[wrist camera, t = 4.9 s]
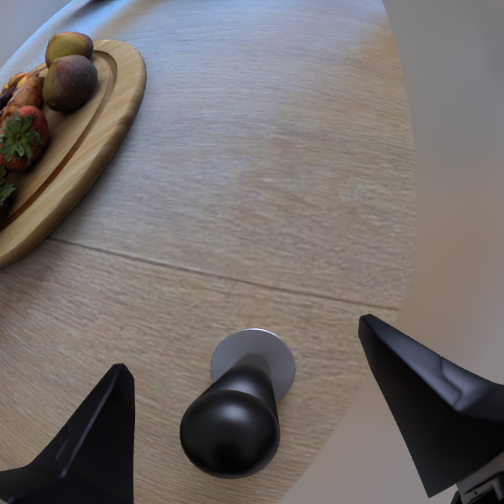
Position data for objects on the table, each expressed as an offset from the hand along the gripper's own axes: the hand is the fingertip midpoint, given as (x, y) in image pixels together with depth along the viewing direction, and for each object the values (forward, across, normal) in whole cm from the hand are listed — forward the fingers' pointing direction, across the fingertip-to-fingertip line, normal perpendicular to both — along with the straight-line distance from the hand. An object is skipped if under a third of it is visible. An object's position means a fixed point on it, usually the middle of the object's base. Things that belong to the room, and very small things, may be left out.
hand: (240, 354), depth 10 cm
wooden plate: (+22, +21, -12) cm, 33 cm away
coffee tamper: (+4, 0, +6) cm, 7 cm away
